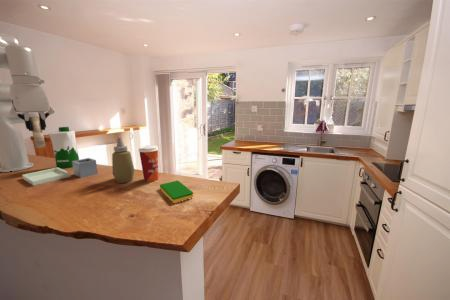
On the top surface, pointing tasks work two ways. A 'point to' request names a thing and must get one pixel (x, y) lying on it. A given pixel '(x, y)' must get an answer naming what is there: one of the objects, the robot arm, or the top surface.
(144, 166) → the paper cup
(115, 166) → the squeeze bottle
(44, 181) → the tray
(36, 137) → the dowel
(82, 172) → the holder
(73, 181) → the top surface
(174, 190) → the dish sponge
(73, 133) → the milk carton
